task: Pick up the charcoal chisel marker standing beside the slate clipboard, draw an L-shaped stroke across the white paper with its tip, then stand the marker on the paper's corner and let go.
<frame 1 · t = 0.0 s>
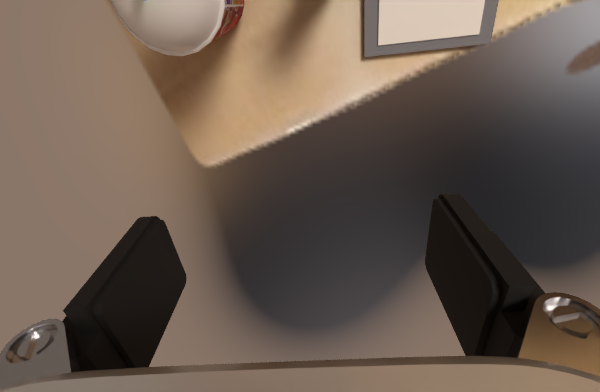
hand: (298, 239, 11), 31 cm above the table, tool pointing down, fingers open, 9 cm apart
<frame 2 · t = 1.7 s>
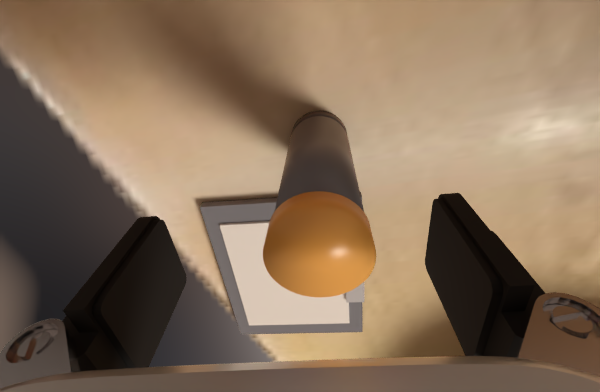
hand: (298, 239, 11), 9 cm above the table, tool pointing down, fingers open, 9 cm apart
marker: (318, 138, 19), on the table
clipboard: (291, 271, 25), on the table
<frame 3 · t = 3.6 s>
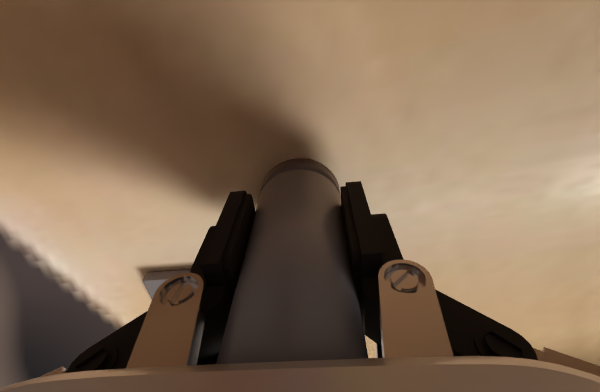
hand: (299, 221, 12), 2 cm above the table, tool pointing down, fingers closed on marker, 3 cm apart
marker: (300, 194, 14), on the table, touching gripper
clipboard: (271, 348, 19), on the table
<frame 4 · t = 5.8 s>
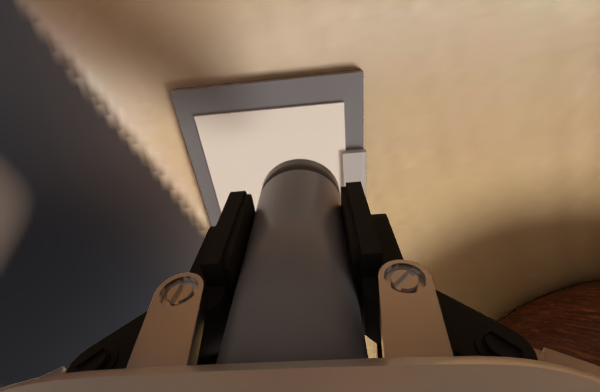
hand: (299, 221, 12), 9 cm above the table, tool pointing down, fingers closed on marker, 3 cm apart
marker: (300, 194, 14), point 7 cm above the table, touching gripper
clipboard: (281, 185, 21), on the table
wooden bowl: (579, 346, 30), on the table
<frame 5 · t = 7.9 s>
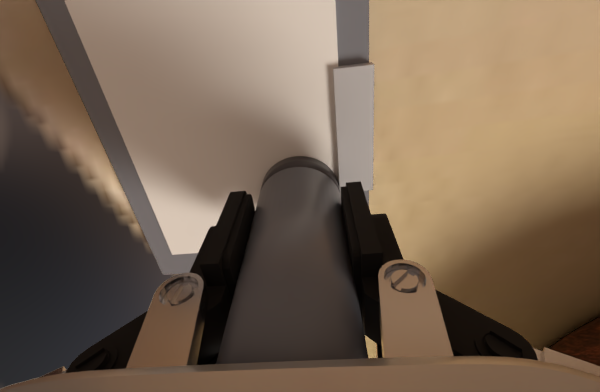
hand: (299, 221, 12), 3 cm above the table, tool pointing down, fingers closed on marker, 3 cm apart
marker: (300, 191, 14), point 1 cm above the table, touching gripper
clipboard: (236, 138, 13), on the table
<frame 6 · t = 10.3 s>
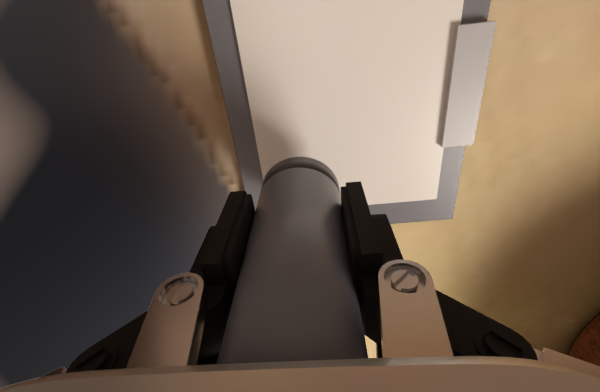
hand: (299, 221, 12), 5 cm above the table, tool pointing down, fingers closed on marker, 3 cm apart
marker: (300, 192, 14), point 3 cm above the table, touching gripper
clipboard: (346, 96, 14), on the table
when the fingers open (4 cm above the table, at t = 12.4 s): marker stays where it is, resting on clipboard.
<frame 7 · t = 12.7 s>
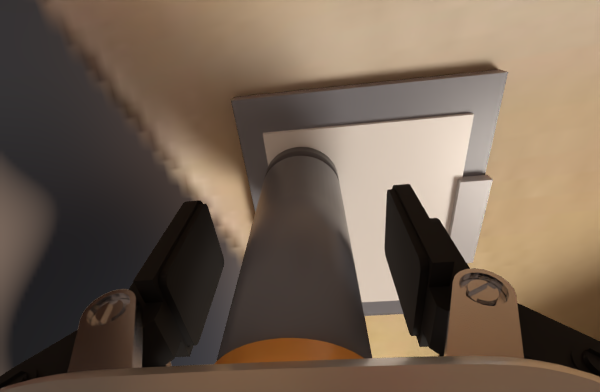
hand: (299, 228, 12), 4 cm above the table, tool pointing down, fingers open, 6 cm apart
marker: (301, 181, 15), point 1 cm above the table, touching clipboard
clipboard: (363, 220, 17), on the table
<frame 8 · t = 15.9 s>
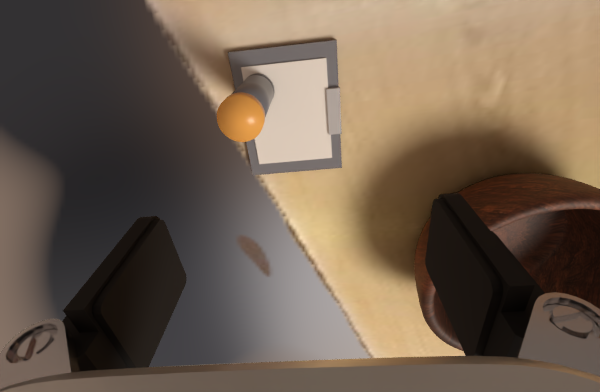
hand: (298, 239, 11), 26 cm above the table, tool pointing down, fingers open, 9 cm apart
marker: (258, 90, 33), point 1 cm above the table, touching clipboard
clipboard: (290, 113, 35), on the table
wooden bowl: (490, 235, 44), on the table
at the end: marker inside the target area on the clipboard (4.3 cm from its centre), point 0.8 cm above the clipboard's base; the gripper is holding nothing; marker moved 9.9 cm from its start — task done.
